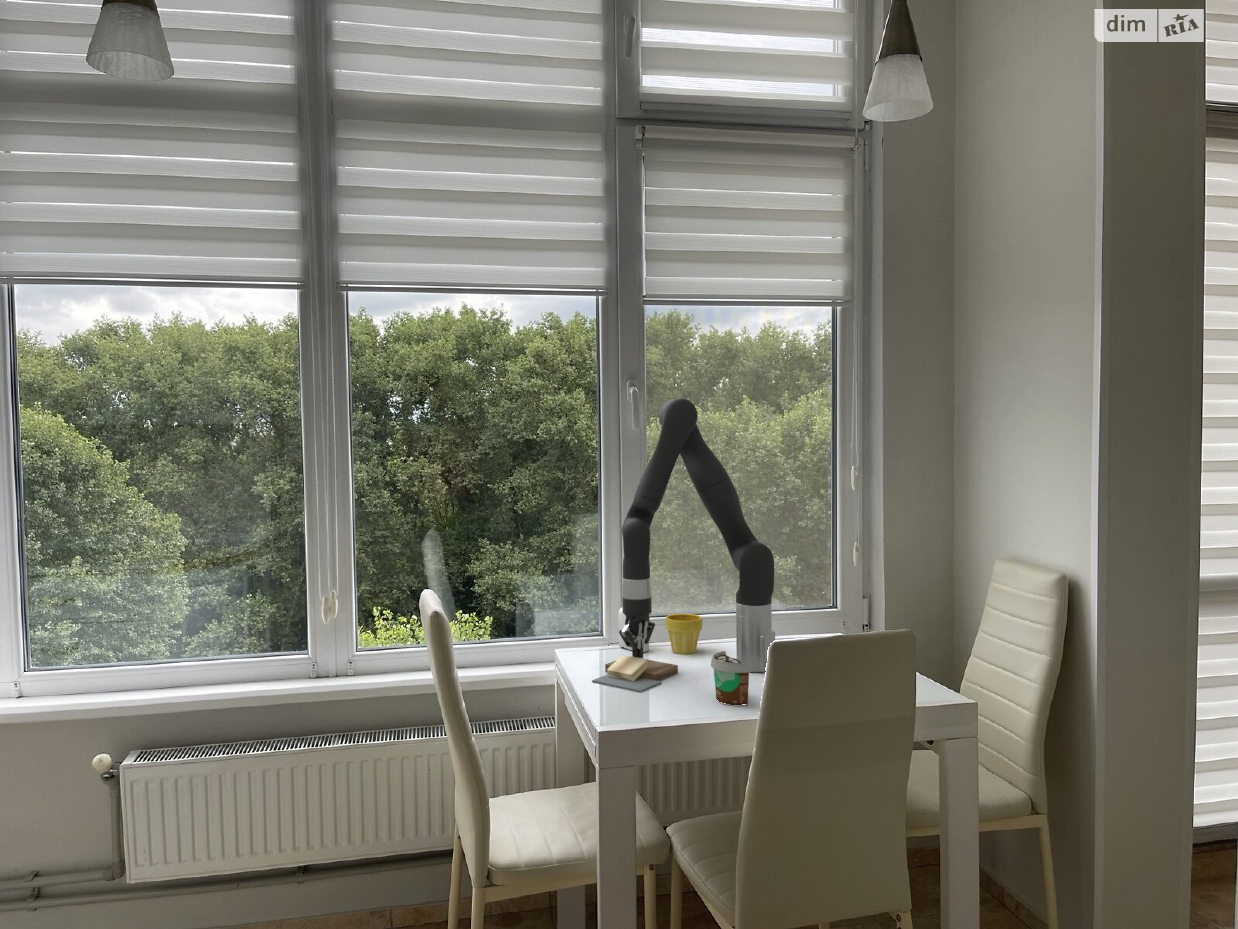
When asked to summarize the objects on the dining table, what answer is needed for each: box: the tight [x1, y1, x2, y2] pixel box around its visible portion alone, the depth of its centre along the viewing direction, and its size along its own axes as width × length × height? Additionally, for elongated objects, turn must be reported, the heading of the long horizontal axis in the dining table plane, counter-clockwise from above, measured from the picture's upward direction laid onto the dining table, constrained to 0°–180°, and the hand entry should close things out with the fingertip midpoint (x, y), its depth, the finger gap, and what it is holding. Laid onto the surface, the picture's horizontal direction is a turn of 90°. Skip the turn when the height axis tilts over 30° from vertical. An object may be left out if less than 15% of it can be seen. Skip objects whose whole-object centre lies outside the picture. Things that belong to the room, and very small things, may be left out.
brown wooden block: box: [604, 659, 679, 681], centre depth 222 cm, size 16×10×2 cm, turn 52°
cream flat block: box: [606, 654, 649, 682], centre depth 217 cm, size 8×7×2 cm
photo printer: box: [617, 607, 650, 653], centre depth 246 cm, size 10×4×12 cm, turn 39°
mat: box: [591, 673, 663, 694], centre depth 213 cm, size 15×9×1 cm, turn 52°
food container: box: [710, 650, 752, 706], centre depth 197 cm, size 12×6×10 cm, turn 21°
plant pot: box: [665, 613, 703, 655], centre depth 243 cm, size 10×10×10 cm
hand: (638, 662), depth 221 cm, fingers closed
